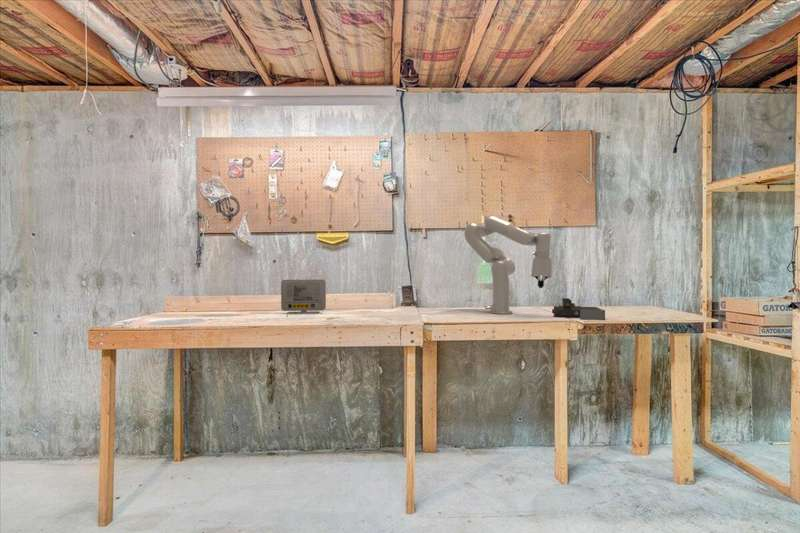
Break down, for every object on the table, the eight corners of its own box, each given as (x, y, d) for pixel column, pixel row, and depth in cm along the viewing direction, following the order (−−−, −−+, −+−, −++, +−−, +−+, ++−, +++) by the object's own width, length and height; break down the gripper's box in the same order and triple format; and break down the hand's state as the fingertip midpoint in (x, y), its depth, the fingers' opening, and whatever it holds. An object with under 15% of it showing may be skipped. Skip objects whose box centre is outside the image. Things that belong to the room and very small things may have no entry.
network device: (326, 312, 252) (326, 279, 251) (324, 314, 243) (324, 279, 243) (283, 312, 250) (283, 279, 250) (280, 314, 241) (280, 280, 241)
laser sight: (597, 319, 220) (598, 300, 220) (552, 317, 226) (552, 299, 226) (594, 317, 229) (594, 299, 229) (551, 315, 235) (551, 298, 235)
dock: (580, 319, 219) (580, 309, 219) (573, 315, 235) (573, 306, 235) (605, 319, 216) (605, 310, 216) (596, 315, 233) (596, 306, 233)
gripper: (529, 254, 228) (527, 287, 229) (557, 255, 225) (555, 289, 226) (527, 254, 235) (526, 286, 236) (555, 255, 232) (553, 288, 233)
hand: (540, 287), depth 231 cm, fingers closed
